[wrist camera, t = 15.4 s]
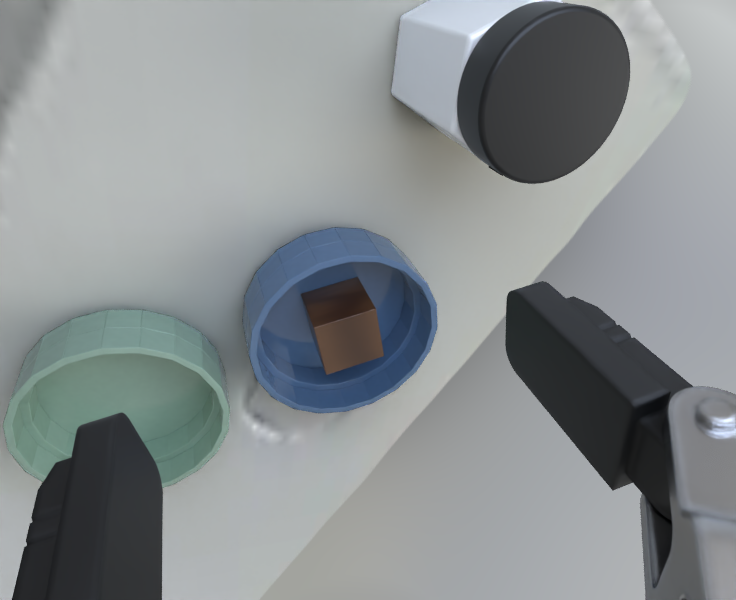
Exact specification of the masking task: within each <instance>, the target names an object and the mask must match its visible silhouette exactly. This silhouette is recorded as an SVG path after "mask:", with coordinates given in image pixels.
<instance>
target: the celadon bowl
mask: <svg viewBox="0 0 736 600" xmlns="http://www.w3.org/2000/svg"><path fill="white" fill-rule="evenodd" d="M121 412H122V413H124V414H126V415H127V417H128V418H129V419H130V421H131V423H132V424H133V426H134V428H135V429H136V431H137V433H138V434H139V436H140V438H141V439H142V441H143V442H144V444H145V446H146V447H147V449H148V451H149V452H150V454H151V456H152V457H153V459H154V461H155V463H156V465H157V467H158V470H159V473H160V477H161V482H162V488H164V487H167V486H170V485H173V484H175V483H177V482H179V481H181V480H182V479H184V478H186V477H188V476H189V475H191V474H193V473H195V472H196V471H198V470H199V469H200V468H201V467H202V466H204V465H205V464H206V463H207V462H208V461H209V460H210V459H211V458H212V457H213V456H214V455H215V454H216V453H217V452H218V450H219V448H220V446H221V444H222V442H223V440H224V438H225V436H226V435H227V433H228V428H229V416H230V406H229V398H228V391H227V383H226V376H225V370H224V367H223V365H222V362H221V359H220V356H219V354H218V351H217V350H216V349H215V348H214V347H213V345H212V344H211V343H210V342H209V341H208V340H207V339H206V338H205V337H204V336H203V334H202V333H201V332H200V331H198V330H196V329H194V328H193V327H191V326H189V325H187V324H185V323H184V322H182V321H180V320H178V319H176V318H174V317H171V316H167V315H163V314H159V313H155V312H151V311H146V310H104V311H100V312H96V313H92V314H88V315H85V316H81V317H77V318H74V319H71V320H70V321H68V322H66V323H64V324H63V325H61V326H59V327H58V328H56V329H54V330H52V331H51V332H49V333H47V334H45V335H44V336H43V337H42V338H41V340H40V341H39V342H38V343H37V344H36V345H35V346H34V348H33V349H32V350H31V351H30V352H29V353H28V354H27V356H26V357H25V360H24V363H23V365H22V368H21V371H20V374H19V377H18V380H17V382H16V385H15V388H14V391H13V394H12V396H11V399H10V402H9V406H8V409H7V412H6V416H5V419H4V422H3V429H4V434H5V438H6V443H7V447H8V450H9V452H10V453H11V454H12V456H13V457H14V458H15V459H16V461H17V462H18V463H19V464H20V466H21V467H22V468H23V469H24V471H25V472H27V473H29V474H30V475H32V476H34V477H35V478H37V479H39V480H40V481H42V482H44V480H45V479H46V477H47V475H48V474H49V472H50V471H51V469H52V468H53V466H54V464H55V463H56V462H59V461H62V460H65V459H68V458H71V457H72V452H73V446H74V441H75V436H76V431H77V429H78V427H79V426H80V425H82V424H86V423H89V422H92V421H95V420H98V419H102V418H105V417H108V416H111V415H114V414H117V413H121Z"/></svg>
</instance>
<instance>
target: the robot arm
mask: <svg viewBox="0 0 736 600" xmlns="http://www.w3.org/2000/svg"><path fill="white" fill-rule="evenodd" d="M506 352H507V356H508V359H509V361H510V364H511V365H512V367H513V369H514V371H515V372H516V373H517V375H518V376H519V377H520V378H521V379H522V381H523V382H524V383H525V384H526V386H527V387H528V388H529V389H530V390H531V392H532V393H533V394H534V395H535V397H536V398H537V399H538V400H539V401H540V403H541V404H542V405H543V406H544V407H545V409H546V410H547V411H548V412H549V413H550V415H551V416H552V417H553V418H554V420H555V421H556V422H557V423H558V424H559V426H560V427H561V428H562V429H563V430H564V432H565V433H566V434H567V435H568V437H569V438H570V439H571V440H572V442H573V443H574V444H575V445H576V446H577V448H578V449H579V450H580V451H581V453H582V454H583V455H584V456H585V457H586V459H587V460H588V461H589V462H590V463H591V465H592V466H593V467H594V468H595V470H596V471H597V472H598V473H599V474H600V476H601V477H602V478H603V479H604V481H606V483H607V484H608V485H609V487H610V488H611V489H612V490H615V489H617V488H620V487H623V486H625V485H628V484H630V483H634V484H635V485H636V486H637V488H638V489H639V490H640V491H641V492H642V495H641V499H640V509H641V525H642V541H643V542H642V543H643V559H644V576H645V597H646V598H645V599H646V600H736V395H735V394H733V393H731V392H728V391H725V390H721V389H718V388H713V387H704V386H699V387H693V386H692V385H691V384H689V383H688V382H687V381H686V380H685V379H683V378H682V377H681V376H680V375H679V374H677V373H676V372H675V371H674V370H673V369H671V368H670V367H669V366H668V365H666V364H665V363H664V362H663V361H662V360H661V359H659V358H658V357H657V356H656V355H654V354H653V353H652V352H651V351H650V350H649V349H647V348H646V347H645V346H644V345H643V344H641V343H640V342H639V341H638V340H637V339H635V338H631V336H630V334H629V333H628V332H627V331H626V330H625V329H623V328H622V327H621V326H620V325H616V323H615V321H614V320H612V319H611V318H610V317H609V316H608V315H606V314H605V313H604V312H603V311H602V310H601V309H599V308H598V307H596V306H594V305H592V304H589V303H587V302H584V301H583V300H580V299H578V298H576V297H570V298H567V299H566V298H564V297H563V296H562V295H561V294H560V293H559V292H558V291H556V290H555V289H554V288H553V287H552V286H551V285H550V284H548V283H547V282H543V281H542V282H538V283H535V284H532V285H529V286H525V287H522V288H519V289H516V290H513V291H510V292H509V293H508V296H507V307H506ZM162 504H163V491H162V482H161V477H160V473H159V470H158V467H157V465H156V463H155V461H154V459H153V457H152V456H151V454H150V452H149V451H148V449H147V447H146V446H145V444H144V442H143V441H142V439H141V438H140V436H139V434H138V433H137V431H136V429H135V428H134V426H133V424H132V423H131V421H130V419H129V418H128V417H127V415H126V414H124V413H122V412H121V413H117V414H114V415H111V416H108V417H105V418H102V419H98V420H95V421H92V422H89V423H86V424H82V425H80V426H79V427H78V429H77V431H76V436H75V441H74V446H73V452H72V457H71V458H68V459H65V460H62V461H59V462H56V463H55V464H54V466H53V468H52V469H51V471H50V472H49V474H48V475H47V477H46V479H45V480H44V482H43V483H42V485H41V486H40V488H39V489H38V492H37V497H36V501H35V505H34V509H33V513H32V521H33V522H32V523H30V526H29V530H28V534H27V539H26V542H27V546H26V547H24V551H23V555H22V560H21V564H20V568H19V572H18V576H17V581H16V585H15V589H14V593H13V597H12V600H162Z"/></svg>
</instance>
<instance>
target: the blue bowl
mask: <svg viewBox="0 0 736 600" xmlns="http://www.w3.org/2000/svg"><path fill="white" fill-rule="evenodd" d="M355 277H358V278H359V280H360V282H361V283H362V285H363V287H364V289H365V290H366V292H367V294H368V296H369V297H370V299H371V301H372V303H373V304H374V306H375V308H376V311H377V317H378V323H379V329H380V335H381V341H382V346H383V352H384V356H383V357H380V358H377V359H374V360H371V361H368V362H365V363H362V364H359V365H355V366H352V367H349V368H346V369H343V370H340V371H337V372H334V373H331V374H328V375H326V373H325V370H324V368H323V365H322V362H321V359H320V357H319V354H318V351H317V349H316V346H315V343H314V340H313V337H312V333H311V330H310V326H309V323H308V319H307V315H306V312H305V308H304V304H303V301H302V297H301V293H305V292H308V291H311V290H315V289H318V288H321V287H325V286H328V285H332V284H335V283H338V282H342V281H345V280H348V279H352V278H355ZM242 322H243V327H244V333H245V338H246V343H247V348H248V353H249V358H250V361H251V364H252V367H253V370H254V373H255V377H256V379H257V381H258V382H259V383H260V384H261V385H262V386H263V388H264V389H265V390H266V391H267V392H268V393H269V394H270V395H271V397H273V398H274V399H276V400H278V401H280V402H282V403H284V404H286V405H288V406H289V407H291V408H293V409H297V410H303V411H308V412H314V413H333V412H345V411H349V410H353V409H356V408H359V407H362V406H365V405H369V404H372V403H374V402H376V401H377V400H379V399H381V398H383V397H384V396H386V395H388V394H390V393H391V392H393V391H395V390H396V389H398V388H399V387H400V386H401V385H402V384H403V383H404V382H405V381H406V380H407V379H409V378H410V377H411V376H412V375H413V374H414V373H415V372H416V371H417V370H418V368H419V367H420V365H421V364H422V362H423V361H424V359H425V358H426V356H427V355H428V353H429V352H430V350H431V346H432V343H433V340H434V337H435V334H436V330H437V304H436V301H435V299H434V297H433V295H432V293H431V291H430V288H429V286H428V284H427V282H426V281H425V280H424V278H423V277H422V276H421V275H420V273H419V272H418V271H417V269H416V268H415V267H414V265H413V264H412V263H411V262H410V260H409V259H408V258H407V256H406V255H405V254H404V253H403V252H402V251H401V250H400V249H399V248H398V247H396V246H395V245H394V244H393V243H392V242H391V241H390V240H389V239H387V238H385V237H383V236H380V235H377V234H375V233H372V232H370V231H367V230H365V229H358V228H339V227H334V228H329V229H325V230H321V231H317V232H313V233H308V234H305V235H302V236H301V237H299V238H297V239H295V240H294V241H292V242H290V243H288V244H287V245H285V246H283V247H281V248H280V249H278V250H277V251H276V252H275V253H274V254H273V255H272V256H271V257H270V258H269V259H268V260H267V261H266V262H265V263H264V264H263V265H262V266H261V267H260V268H259V270H258V271H257V272H256V273H255V275H254V278H253V280H252V282H251V284H250V286H249V288H248V290H247V292H246V294H245V297H244V307H243V319H242Z"/></svg>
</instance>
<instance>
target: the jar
mask: <svg viewBox="0 0 736 600" xmlns="http://www.w3.org/2000/svg"><path fill="white" fill-rule="evenodd" d="M629 80H630V60H629V53H628V48H627V45H626V42H625V39H624V37H623V35H622V33H621V31H620V29H619V28H618V26H617V25H616V24H615V23H614V21H613V20H612V19H610V18H609V17H608V16H607V15H605V14H604V13H602V12H601V11H599V10H597V9H594V8H591V7H588V6H582V5H575V4H568V3H563V1H562V0H428V1H427V2H425V3H423V4H421V5H419V6H418V7H416V8H414V9H412V10H410V11H408V12H407V13H405V14H403V15H402V16H401V18H400V25H399V33H398V41H397V49H396V57H395V65H394V74H393V82H392V90H391V93H392V95H393V96H394V97H395V98H396V99H398V100H399V101H400V102H402V103H403V104H404V105H406V106H407V107H408V108H410V109H411V110H412V111H414V112H415V113H416V114H418V115H419V116H420V117H421V118H423V119H424V120H425V121H427V122H428V123H429V124H431V125H432V126H433V127H435V128H436V129H437V130H439V131H440V132H442V133H443V134H445V135H446V136H447V137H449V138H450V139H452V140H453V141H455V142H456V143H458V144H459V145H461V146H462V147H464V148H465V149H467V150H468V151H469V152H471V153H472V154H474V155H475V156H477V157H478V158H479V159H480V160H482V161H483V162H485V163H486V164H487V165H489V168H490V169H492V170H494V171H496V172H497V173H498V174H500V175H502V176H503V175H504V176H505V177H507V178H509V179H511V180H514V181H517V182H521V183H528V184H536V183H544V182H549V181H552V180H555V179H558V178H560V177H563V176H565V175H567V174H569V173H570V172H572V171H574V170H575V169H577V168H578V167H580V166H581V165H582V164H583V163H585V162H586V161H587V160H588V159H589V158H590V157H591V156H592V155H593V154H594V153H595V152H596V151H597V150H598V149H599V148H600V147H601V145H602V144H603V143H604V142H605V140H606V139H607V137H608V136H609V135H610V133H611V131H612V130H613V128H614V126H615V124H616V122H617V121H618V118H619V116H620V114H621V112H622V109H623V106H624V103H625V100H626V96H627V92H628V87H629Z"/></svg>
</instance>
